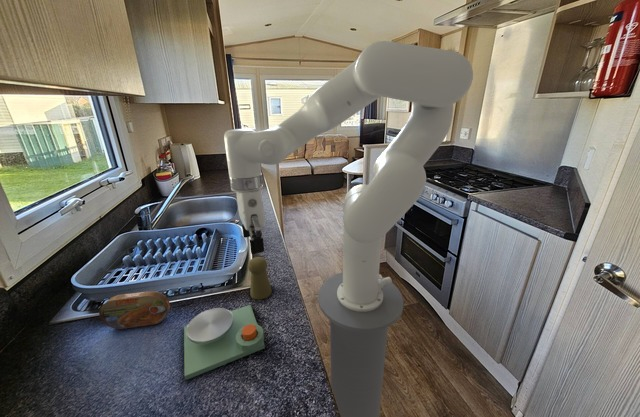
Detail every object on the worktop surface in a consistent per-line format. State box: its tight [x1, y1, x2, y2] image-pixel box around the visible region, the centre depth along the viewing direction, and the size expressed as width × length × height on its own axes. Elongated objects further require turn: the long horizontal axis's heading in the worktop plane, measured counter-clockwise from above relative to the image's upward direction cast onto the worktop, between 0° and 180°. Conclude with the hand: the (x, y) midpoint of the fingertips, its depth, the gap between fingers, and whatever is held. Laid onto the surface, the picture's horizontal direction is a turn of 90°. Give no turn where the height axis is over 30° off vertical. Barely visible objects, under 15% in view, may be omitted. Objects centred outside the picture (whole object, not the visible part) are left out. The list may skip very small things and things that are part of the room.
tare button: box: [242, 324, 257, 341], centre depth 58 cm, size 3×3×2 cm
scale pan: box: [187, 307, 234, 344], centre depth 60 cm, size 10×10×1 cm
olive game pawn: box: [247, 256, 272, 301], centre depth 74 cm, size 6×6×11 cm
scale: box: [183, 304, 266, 381], centre depth 60 cm, size 16×14×3 cm
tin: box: [98, 290, 171, 330], centre depth 64 cm, size 15×3×8 cm, turn 99°
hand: (253, 243), depth 70 cm, fingers open, 9 cm apart
